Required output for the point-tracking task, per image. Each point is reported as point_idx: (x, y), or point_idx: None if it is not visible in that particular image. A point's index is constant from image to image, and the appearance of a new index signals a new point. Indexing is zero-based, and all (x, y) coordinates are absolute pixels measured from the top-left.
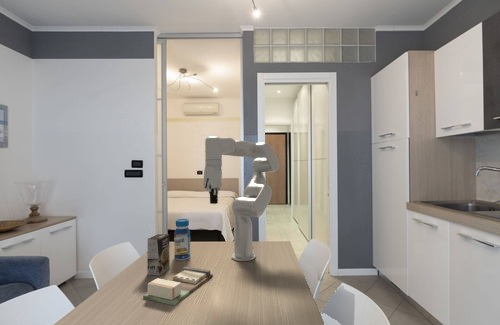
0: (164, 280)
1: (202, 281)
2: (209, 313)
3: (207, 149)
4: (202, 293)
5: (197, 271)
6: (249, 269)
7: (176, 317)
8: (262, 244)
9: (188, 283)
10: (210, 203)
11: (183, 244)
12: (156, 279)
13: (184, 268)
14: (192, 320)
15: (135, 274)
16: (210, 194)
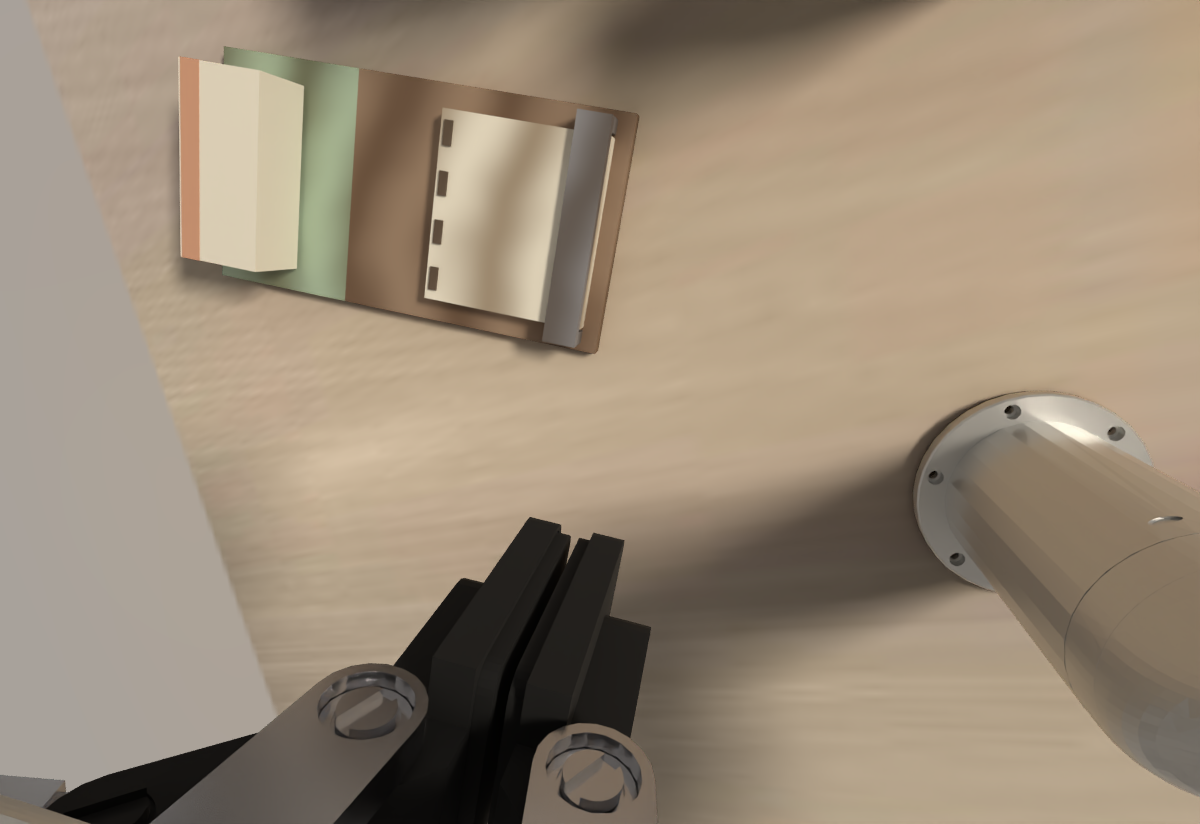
0: (246, 146)
1: (473, 327)
2: (232, 459)
3: None
4: (376, 367)
5: (556, 252)
6: (755, 566)
7: (162, 331)
8: None
9: (427, 248)
10: (530, 526)
11: None
12: (242, 78)
13: (574, 127)
14: (169, 407)
15: None
16: (331, 717)
